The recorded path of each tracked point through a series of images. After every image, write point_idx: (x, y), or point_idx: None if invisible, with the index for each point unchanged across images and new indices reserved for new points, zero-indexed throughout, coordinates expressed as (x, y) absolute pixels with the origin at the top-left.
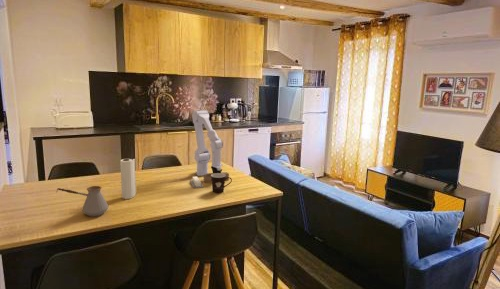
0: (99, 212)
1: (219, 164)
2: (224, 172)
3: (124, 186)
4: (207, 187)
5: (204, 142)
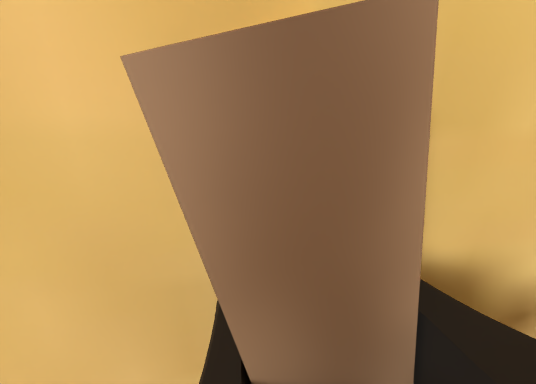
0: None
1: None
2: (210, 195)
3: None
4: (531, 314)
5: None
